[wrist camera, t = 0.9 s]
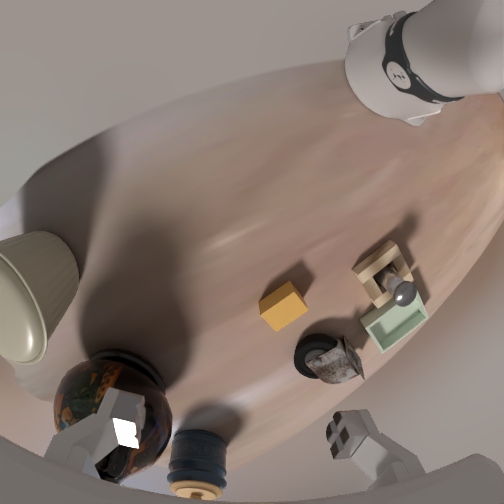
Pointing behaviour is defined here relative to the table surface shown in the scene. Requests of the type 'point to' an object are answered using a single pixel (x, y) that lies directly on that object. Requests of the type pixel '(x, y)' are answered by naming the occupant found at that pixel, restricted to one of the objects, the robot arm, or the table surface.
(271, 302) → the chock
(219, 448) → the canister
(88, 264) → the table surface
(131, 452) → the amphora vase
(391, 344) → the tray
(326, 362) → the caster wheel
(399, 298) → the stop pin
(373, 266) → the pin stand
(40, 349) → the canister
